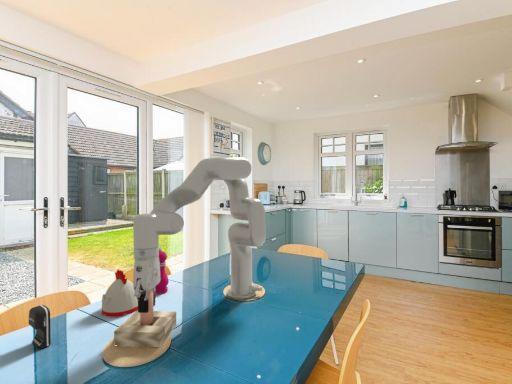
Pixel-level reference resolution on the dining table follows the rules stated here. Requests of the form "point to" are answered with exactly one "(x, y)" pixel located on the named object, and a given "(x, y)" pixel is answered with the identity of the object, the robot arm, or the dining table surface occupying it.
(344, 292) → the dining table surface
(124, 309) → the white dome
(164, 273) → the pepper mill
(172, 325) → the socket block
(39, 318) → the black coffee maker
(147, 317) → the peg
